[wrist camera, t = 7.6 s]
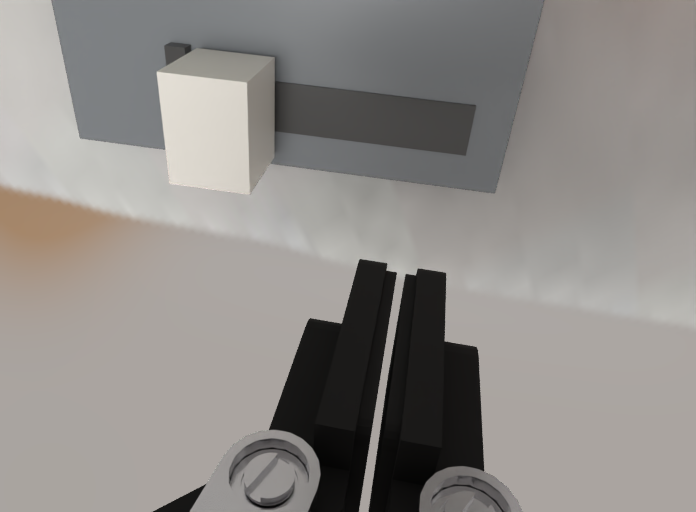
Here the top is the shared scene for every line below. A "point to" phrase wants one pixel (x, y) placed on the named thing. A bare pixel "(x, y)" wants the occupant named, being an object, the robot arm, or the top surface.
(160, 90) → the block
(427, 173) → the breaker board
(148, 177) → the top surface
